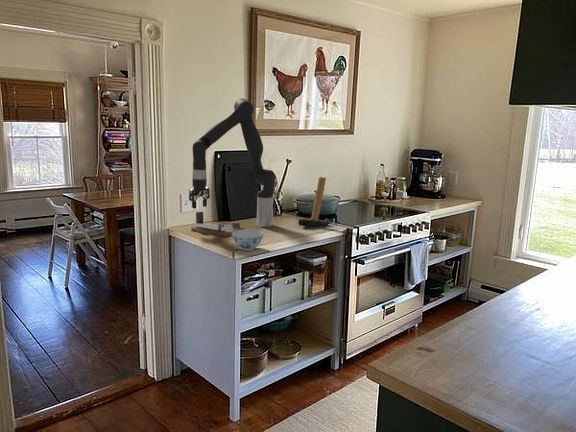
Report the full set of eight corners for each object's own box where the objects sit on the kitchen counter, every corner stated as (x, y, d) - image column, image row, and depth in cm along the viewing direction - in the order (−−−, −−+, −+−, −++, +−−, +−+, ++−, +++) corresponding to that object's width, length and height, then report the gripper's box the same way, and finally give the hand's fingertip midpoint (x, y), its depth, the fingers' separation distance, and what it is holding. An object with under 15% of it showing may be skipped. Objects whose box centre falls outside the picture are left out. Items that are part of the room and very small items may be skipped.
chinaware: (243, 243, 227) (243, 228, 226) (269, 247, 220) (269, 232, 219) (225, 249, 214) (225, 234, 213) (252, 254, 207) (252, 238, 206)
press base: (211, 225, 265) (211, 217, 265) (244, 231, 254) (244, 222, 253) (191, 230, 251) (191, 221, 250) (225, 236, 239) (225, 227, 238)
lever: (226, 229, 244) (226, 215, 242) (221, 231, 241) (221, 216, 239) (199, 225, 253) (199, 211, 252) (194, 226, 250) (194, 212, 248)
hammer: (324, 228, 277) (333, 179, 275) (329, 229, 273) (338, 180, 271) (297, 225, 266) (307, 174, 264) (302, 226, 262) (312, 175, 259)
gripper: (196, 179, 237) (196, 210, 240) (213, 177, 250) (213, 206, 253) (185, 178, 241) (185, 208, 244) (202, 176, 253) (202, 205, 256)
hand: (199, 207), depth 248 cm, fingers open, 8 cm apart
